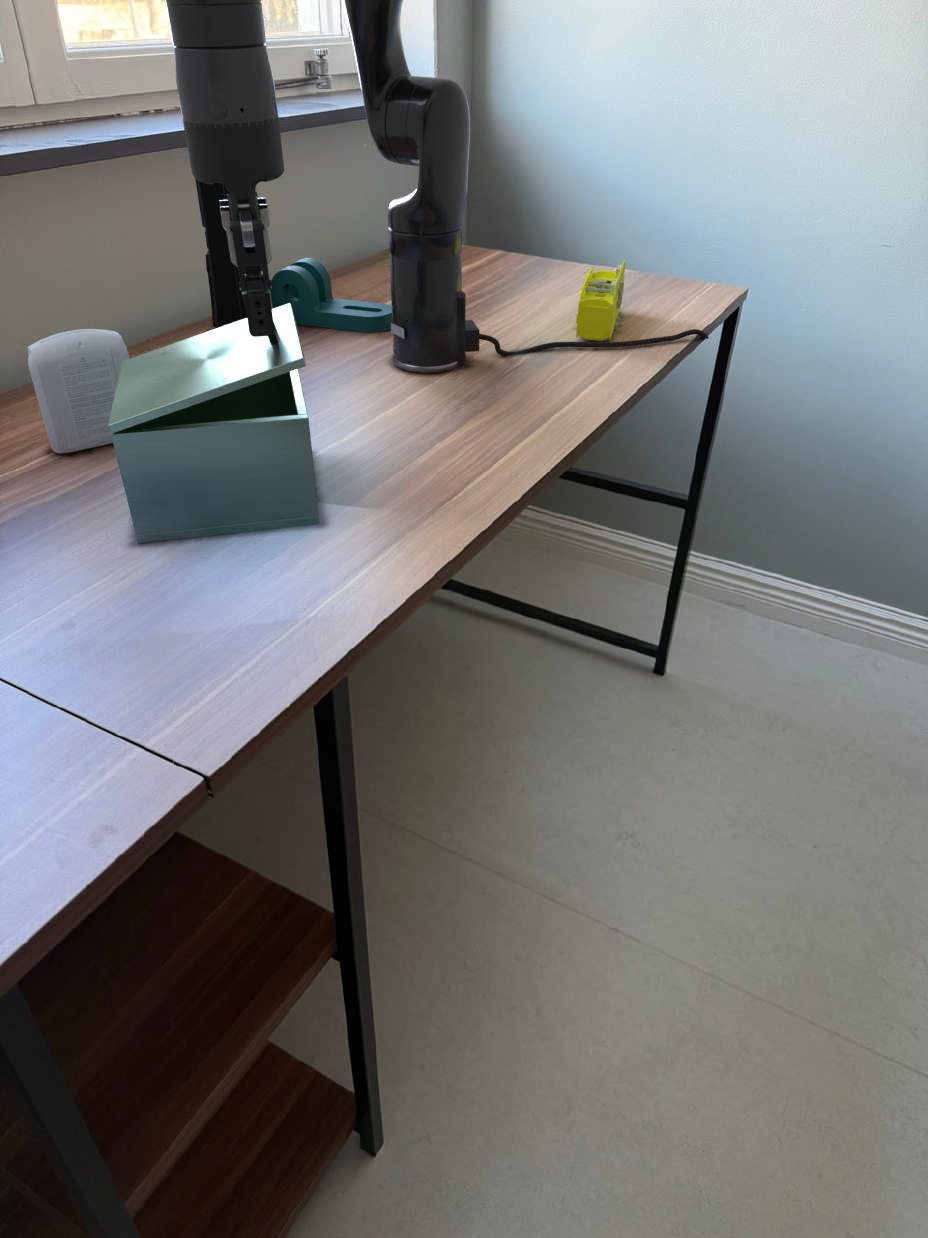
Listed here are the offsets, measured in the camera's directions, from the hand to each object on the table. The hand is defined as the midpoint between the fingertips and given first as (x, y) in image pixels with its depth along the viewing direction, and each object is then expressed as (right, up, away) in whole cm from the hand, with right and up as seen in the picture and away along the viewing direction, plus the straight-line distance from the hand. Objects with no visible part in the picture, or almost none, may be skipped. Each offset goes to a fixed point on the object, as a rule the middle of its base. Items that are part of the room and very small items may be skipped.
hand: (260, 323), depth 81 cm
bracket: (-1, +18, +54) cm, 57 cm away
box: (-5, -14, +9) cm, 18 cm away
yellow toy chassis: (+39, +17, +52) cm, 67 cm away
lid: (-5, -4, +1) cm, 6 cm away
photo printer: (-23, -7, +19) cm, 30 cm away
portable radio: (-16, +17, +53) cm, 58 cm away
